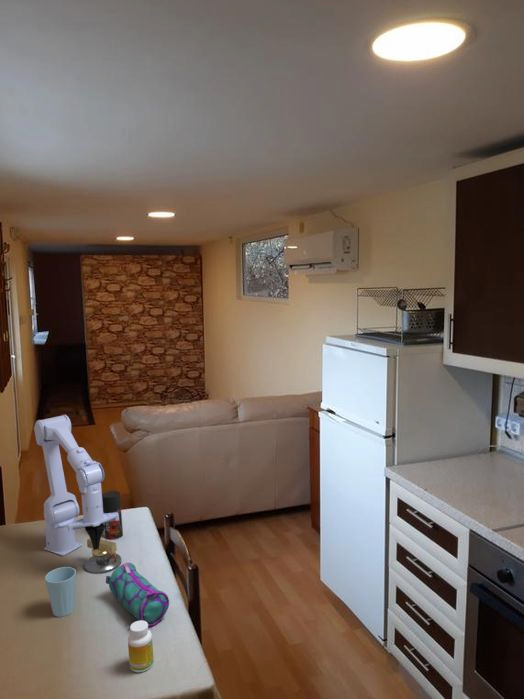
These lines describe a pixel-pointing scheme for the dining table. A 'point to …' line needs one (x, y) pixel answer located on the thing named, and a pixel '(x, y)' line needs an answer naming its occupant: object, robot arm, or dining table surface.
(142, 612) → the pencil case
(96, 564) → the post base
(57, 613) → the cup
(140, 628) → the supplement bottle
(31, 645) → the dining table surface
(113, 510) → the deodorant
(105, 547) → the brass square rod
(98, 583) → the dining table surface
